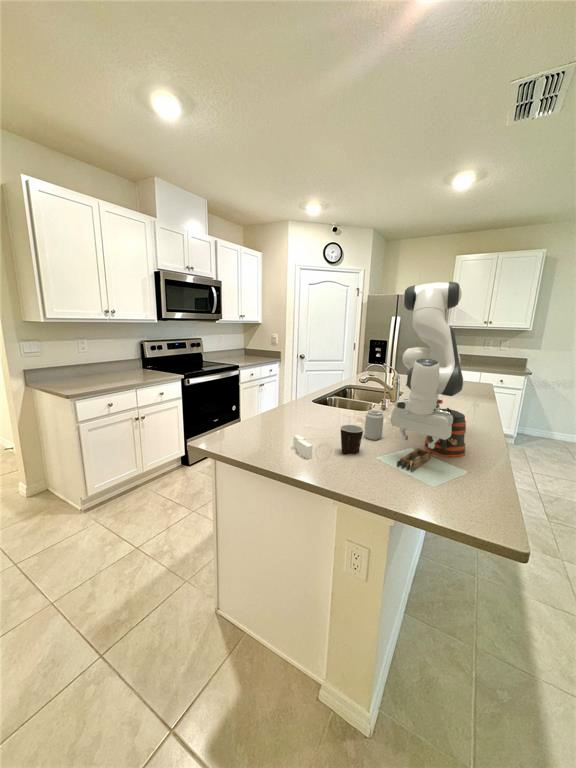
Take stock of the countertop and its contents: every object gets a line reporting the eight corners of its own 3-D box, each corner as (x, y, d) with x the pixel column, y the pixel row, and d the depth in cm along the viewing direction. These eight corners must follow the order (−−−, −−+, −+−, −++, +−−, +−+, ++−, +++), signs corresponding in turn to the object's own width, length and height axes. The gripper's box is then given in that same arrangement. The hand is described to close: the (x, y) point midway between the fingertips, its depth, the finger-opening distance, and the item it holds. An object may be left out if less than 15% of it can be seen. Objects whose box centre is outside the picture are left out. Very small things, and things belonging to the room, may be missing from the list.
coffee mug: (347, 446, 125) (348, 423, 123) (365, 453, 119) (367, 428, 117) (329, 454, 117) (331, 429, 115) (348, 462, 111) (350, 435, 109)
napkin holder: (316, 462, 111) (317, 447, 110) (285, 459, 113) (285, 445, 112) (318, 446, 126) (319, 433, 125) (290, 444, 127) (291, 431, 126)
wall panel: (409, 450, 124) (410, 447, 124) (468, 475, 104) (469, 472, 104) (374, 460, 113) (374, 457, 113) (432, 490, 94) (433, 487, 94)
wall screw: (410, 470, 104) (411, 460, 104) (411, 470, 104) (412, 461, 103) (409, 470, 104) (410, 460, 103) (410, 471, 104) (411, 461, 103)
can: (379, 435, 140) (382, 409, 137) (383, 441, 132) (385, 414, 130) (363, 434, 140) (365, 408, 138) (365, 440, 133) (367, 413, 131)
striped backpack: (468, 468, 109) (476, 414, 106) (423, 459, 115) (429, 408, 111) (462, 449, 126) (469, 402, 123) (424, 442, 132) (429, 397, 128)
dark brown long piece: (416, 454, 117) (417, 448, 117) (431, 459, 113) (432, 452, 113) (396, 466, 106) (397, 460, 106) (411, 472, 103) (412, 465, 102)
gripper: (457, 411, 101) (451, 450, 104) (398, 399, 115) (395, 434, 118) (450, 414, 97) (444, 455, 99) (390, 401, 111) (386, 437, 114)
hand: (417, 443), depth 109 cm, fingers open, 8 cm apart
